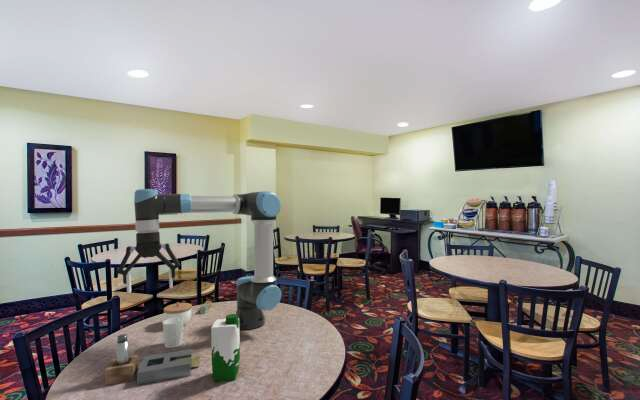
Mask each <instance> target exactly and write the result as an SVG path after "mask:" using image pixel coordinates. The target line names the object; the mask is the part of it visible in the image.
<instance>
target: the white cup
mask: <svg viewBox="0 0 640 400" xmlns="http://www.w3.org/2000/svg"><path fill="white" fill-rule="evenodd" d="M162 332H163V333H162V334H163V341H164V347H165V348H166V349H172V348H173V349H174V348H177V347H180V346H181V345H182V344H183V337H184V336H183V335H184V326H183V318H170V319H167V320H165V319H164V320H163V321H162Z"/></svg>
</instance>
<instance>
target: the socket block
mask: <svg viewBox="0 0 640 400" xmlns="http://www.w3.org/2000/svg"><path fill="white" fill-rule="evenodd" d="M192 356H193V349H192V348H189V349H182V350H178V351H177V350H176V351H171V352H163V353H158V354H151V355H145V356H144V357H143V358H142V362H141V363H140V366H139V367H138V370H137V373H136V378H137V380H136V381H137V384H136V385H137V386H141V385H146V384H151V383H156V382H162V381H168V380H173V379H174V380H175V379H180V378H182V377H189V376H191V372H192V367H191V358H186V357H192ZM180 358H186V359H181V360H176V359H180Z"/></svg>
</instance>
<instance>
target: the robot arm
mask: <svg viewBox="0 0 640 400" xmlns="http://www.w3.org/2000/svg"><path fill="white" fill-rule="evenodd" d="M133 200H134V202H133V204H134V216H135V218H134V219H135V222H134V225H135V232H136V234H135V239H136V240H135V241H136V243H135V244H136V245H135V246H130V245H129V246H127V247H126V249H125V254H124V256H123V258H122V260H121V262H120V264H119V266H118V268H117V270H116V274H117V275H122V282H123V285H126V294H131V292H132V282H131V281H132V280H131V279H132V278H131V277H132V275H131V273H129V272H130V271H131V270H132V268H133V267H134V266H135V265H136V263H137V262H138V261H139V260H140V259H141V258H143V259H147V258H155V257H156V258H158V259H159V260H160V261H162V263H164V265H166V266H167V267H168V268H169V269H168V279H169V280H168V284H169V289H172V288H173V279H175V277H176V269H178V268H180V266H181V263H180V261H179V260H178V258H177V257H176V255H175V254H174V252H173V251H172V249H171V245H170V242H166V243H164V244H163V243H161V239H160V238H161V237H160V234H161V233H160V231H159V230H160V218H159V217H160V216H159V215H172V214H173V215H174V214H195V213H197V214H198V213H200V214H201V213H203V214H204V213H211V214H212V213H214V214H215V213H232V214H233V215H241V216H242V215H244V216H250V221H251V222H252V223H253V224H254V226H253V227H254V233H253V235H254V240H253V241H254V246H253V248H254V250H253V251H254V252H253V253H254V254H253V255H254V258H253V259H254V261H253V262H254V263H253V265H254V268H253V269H254V275H247V276H243V277H239V278H237V280H236V312H235V314H237V315H238V318H239V330H252V329H256V328H260V327H262V326H264V325H265V323H266V317H265V314H264V311H265V312H269V311H272V310H274V309H275V308H277V306H278V304H279V303H280V301H281V298H282V291H281V288H279V286H277V278H276V276H274V223H275V222H276V221H277V216H278V215H279V213H280V212H281V209H282V203H281V199H280V198H279V196H278V195H277V194H276V193H275V192H272V191H269V190H263V191H256V192H255V191H252V192H248V193H239V194H237V193H236V194H233V195H231V196H229V195H225V196H224V195H223V196H222V195H221V196H220V195H191V194H189V193H168V194H165V193H164V194H162V193H161V194H160V193H159V192H158V189H156V188H155V189H154V188H145V189H144V188H142V189H136V190H135V191H134V199H133ZM161 249H163V250H165V251H166V253H167V254H168V256H169V257H170V260H171V261H172V262H173V263H172V262H171V261H170V260H169V259H168V258H167V257H166V256H164V255H163V253H162V252H160V251H161ZM134 251H135V252H136V254H137V253H138V254H137V255H136V256H135V257H134V258H133V260H131V262H130V263H129V265H128V266H127V267H126V264H127V262H128V260H129V258H130V257H131V254H132V253H133V252H134ZM125 267H126V268H125ZM124 268H125V270H124Z"/></svg>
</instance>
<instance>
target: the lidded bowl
mask: <svg viewBox="0 0 640 400" xmlns="http://www.w3.org/2000/svg"><path fill="white" fill-rule="evenodd" d="M192 311H193V305H192V303H188V302H179V301H178V302H176V303H173V304H169V305H166V306H165V307H164V308H163V313H164V314H163V316H164V321H165V320H167V319H170V318H183V327H184V326H185V325H187V324H188V323H189V321H190V320H191V317H192V314H193V313H192Z"/></svg>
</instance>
